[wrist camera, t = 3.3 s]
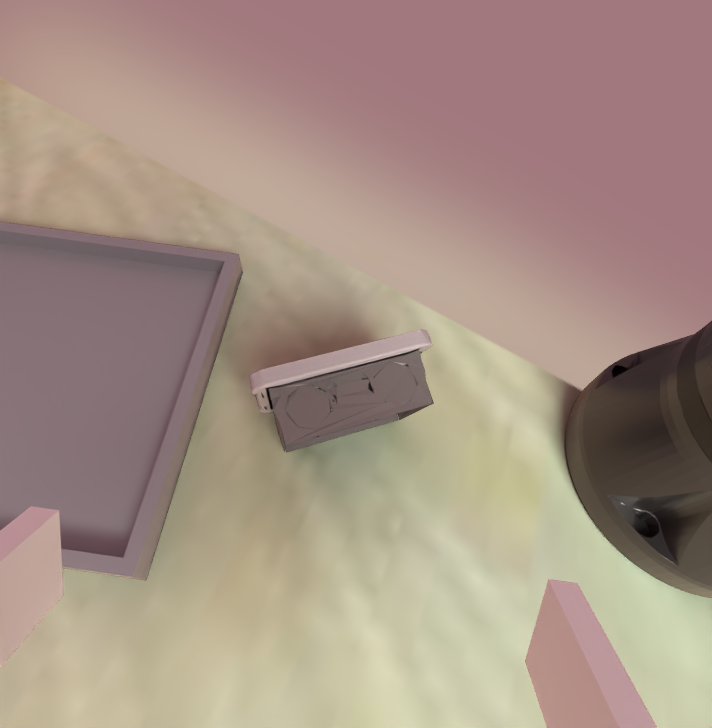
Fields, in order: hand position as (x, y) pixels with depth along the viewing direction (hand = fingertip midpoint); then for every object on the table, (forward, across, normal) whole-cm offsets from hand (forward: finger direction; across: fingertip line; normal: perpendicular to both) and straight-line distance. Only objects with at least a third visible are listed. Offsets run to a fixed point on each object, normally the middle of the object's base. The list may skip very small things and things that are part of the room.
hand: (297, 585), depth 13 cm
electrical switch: (+18, 0, -3) cm, 19 cm away
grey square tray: (+18, -20, -3) cm, 27 cm away
